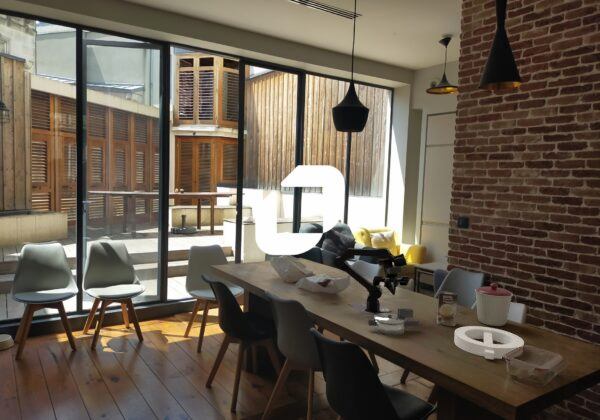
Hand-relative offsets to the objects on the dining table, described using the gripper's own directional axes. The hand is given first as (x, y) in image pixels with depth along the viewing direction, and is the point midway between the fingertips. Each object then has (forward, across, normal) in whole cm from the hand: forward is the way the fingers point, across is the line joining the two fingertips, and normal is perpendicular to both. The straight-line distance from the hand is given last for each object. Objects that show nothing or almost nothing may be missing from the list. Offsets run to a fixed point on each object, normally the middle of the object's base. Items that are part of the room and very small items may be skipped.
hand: (394, 294), depth 228 cm
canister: (+14, +51, +5) cm, 53 cm away
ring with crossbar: (+37, +31, -17) cm, 51 cm away
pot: (+21, -6, -3) cm, 22 cm away
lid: (+17, -5, -6) cm, 19 cm away
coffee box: (+14, +26, +5) cm, 30 cm away
